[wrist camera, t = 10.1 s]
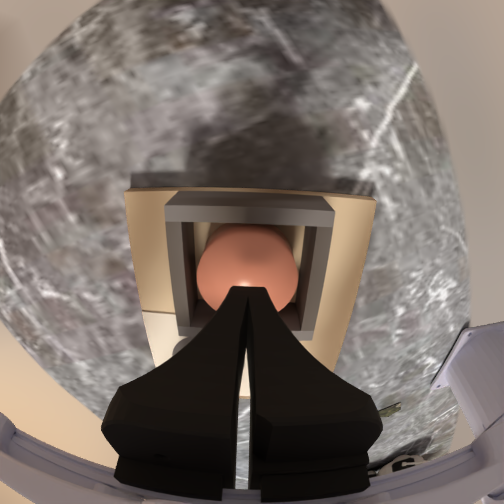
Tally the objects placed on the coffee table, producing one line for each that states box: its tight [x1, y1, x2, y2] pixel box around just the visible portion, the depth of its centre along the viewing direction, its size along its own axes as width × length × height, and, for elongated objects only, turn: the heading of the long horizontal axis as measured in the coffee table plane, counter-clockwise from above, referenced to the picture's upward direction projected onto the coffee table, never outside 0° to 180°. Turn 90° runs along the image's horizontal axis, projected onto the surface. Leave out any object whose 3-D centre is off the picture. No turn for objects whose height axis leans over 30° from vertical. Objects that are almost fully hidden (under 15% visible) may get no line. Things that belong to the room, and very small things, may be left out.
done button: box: [197, 223, 298, 311], centre depth 14 cm, size 5×5×2 cm
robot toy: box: [368, 455, 428, 478], centre depth 31 cm, size 12×4×15 cm
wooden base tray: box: [124, 187, 377, 399], centre depth 16 cm, size 13×16×3 cm
